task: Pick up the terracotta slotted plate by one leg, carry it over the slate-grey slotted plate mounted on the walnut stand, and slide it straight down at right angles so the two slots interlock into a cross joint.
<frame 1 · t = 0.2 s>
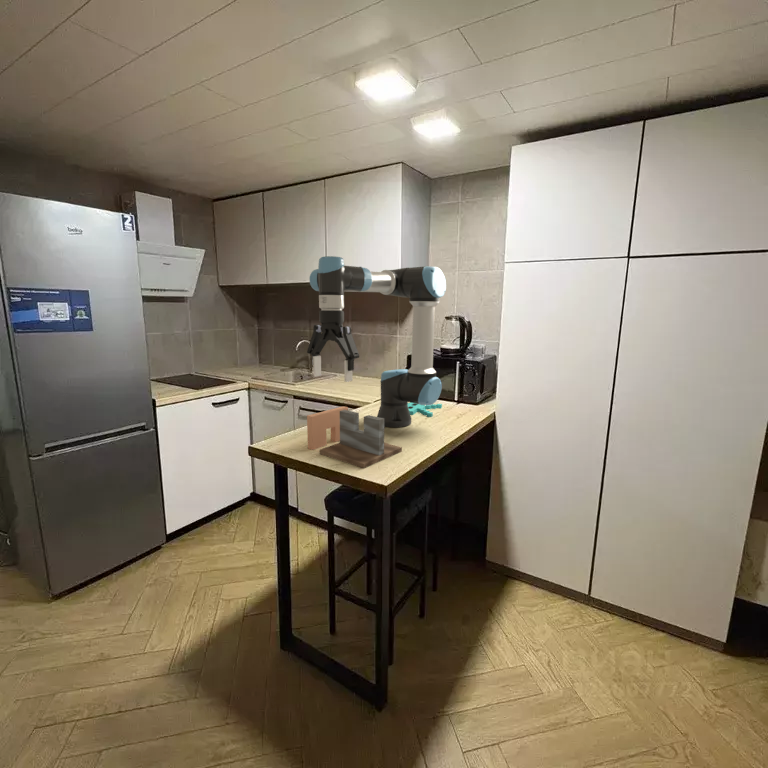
hand: (332, 378, 131), 27 cm above the countertop, fingers open, 13 cm apart
terracotta plate: (328, 442, 154), on the countertop
alien figure: (416, 411, 204), on the countertop
slotted stand: (361, 452, 144), on the countertop
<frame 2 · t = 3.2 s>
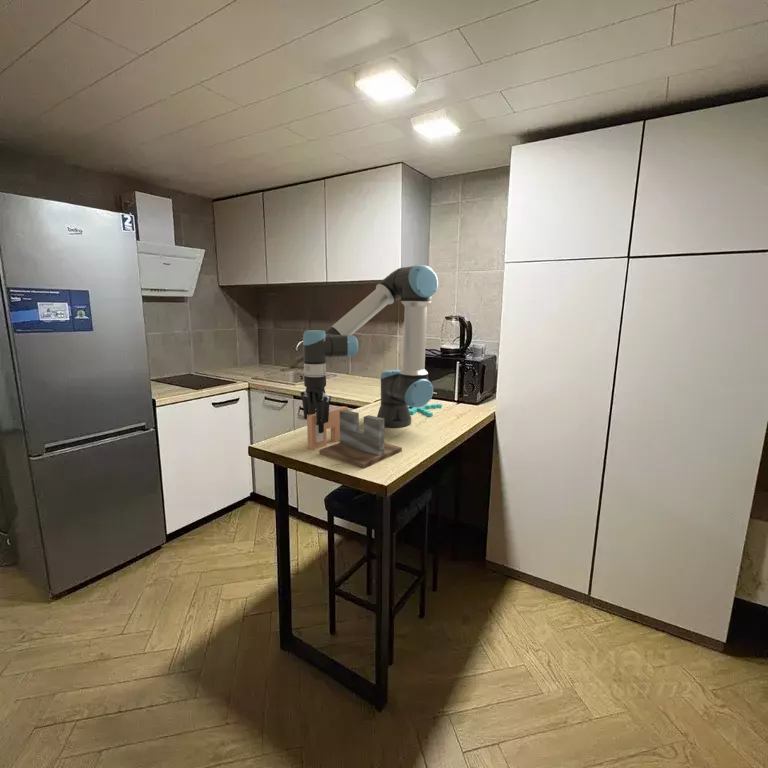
hand: (316, 440, 149), 3 cm above the countertop, fingers closed on terracotta plate, 2 cm apart
terracotta plate: (328, 442, 154), on the countertop, touching gripper
everything else where it was.
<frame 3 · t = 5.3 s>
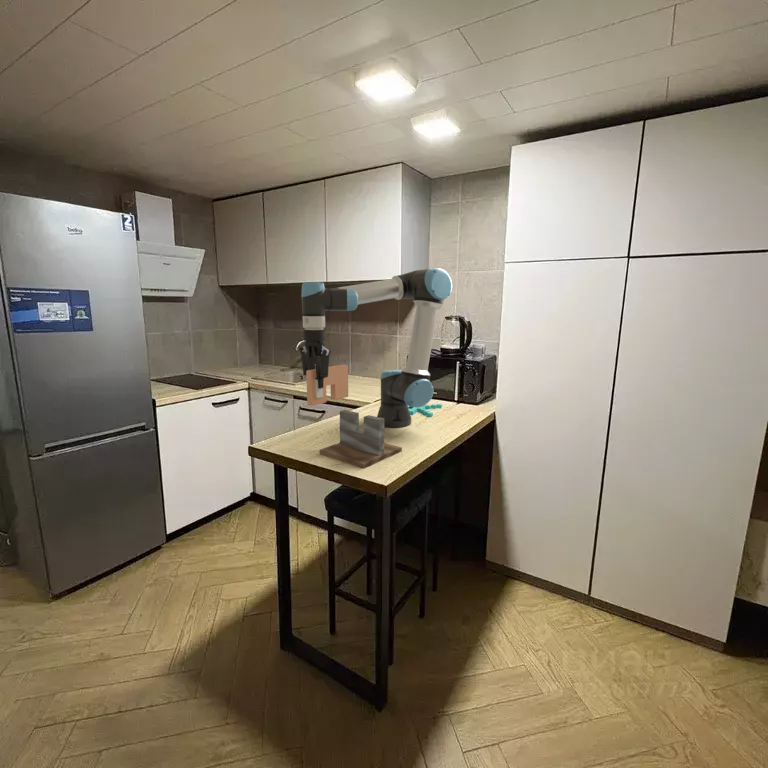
hand: (316, 396, 146), 18 cm above the countertop, fingers closed on terracotta plate, 2 cm apart
terracotta plate: (328, 400, 151), point 16 cm above the countertop, touching gripper
everything else where it was.
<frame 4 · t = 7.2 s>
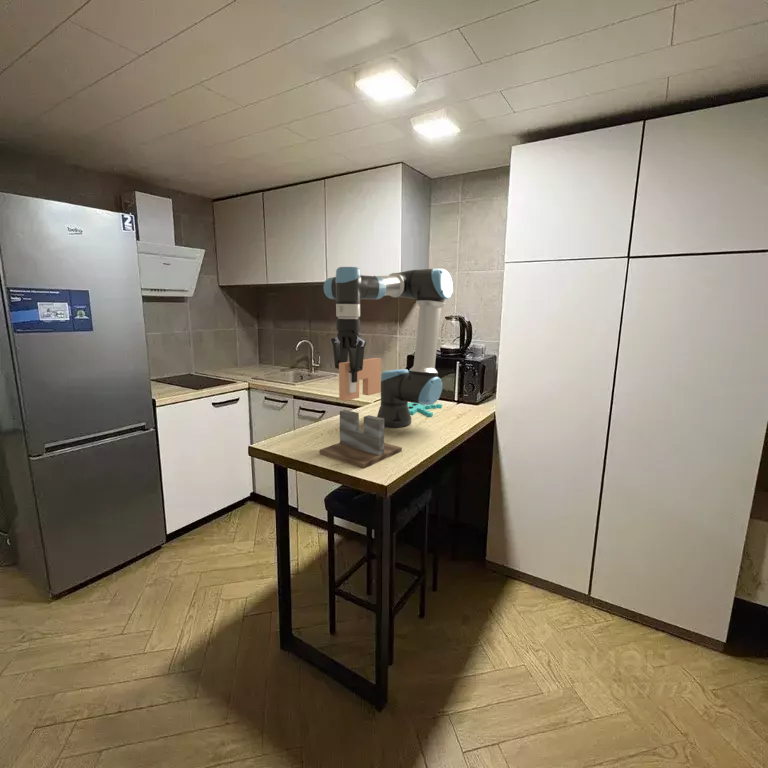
hand: (348, 391, 135), 23 cm above the countertop, fingers closed on terracotta plate, 2 cm apart
terracotta plate: (360, 396, 141), point 20 cm above the countertop, touching gripper
everything else where it was.
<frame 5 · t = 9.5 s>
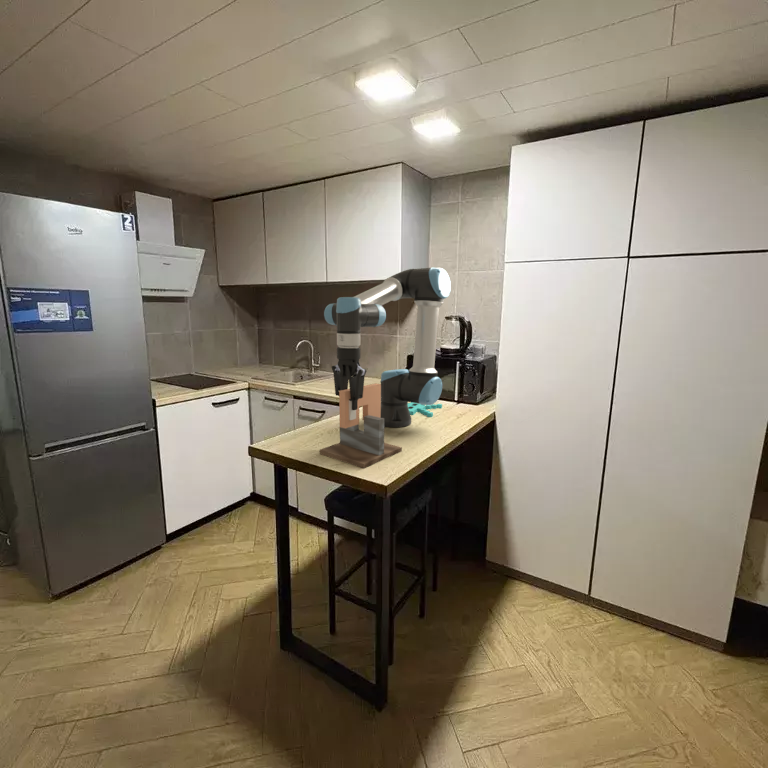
hand: (348, 418, 137), 14 cm above the countertop, fingers closed on terracotta plate, 2 cm apart
terracotta plate: (360, 422, 142), point 11 cm above the countertop, touching gripper
everything else where it was.
when the fingers open (5 cm above the countertop, at t = 11.4 s): terracotta plate stays where it is, resting on slotted stand.
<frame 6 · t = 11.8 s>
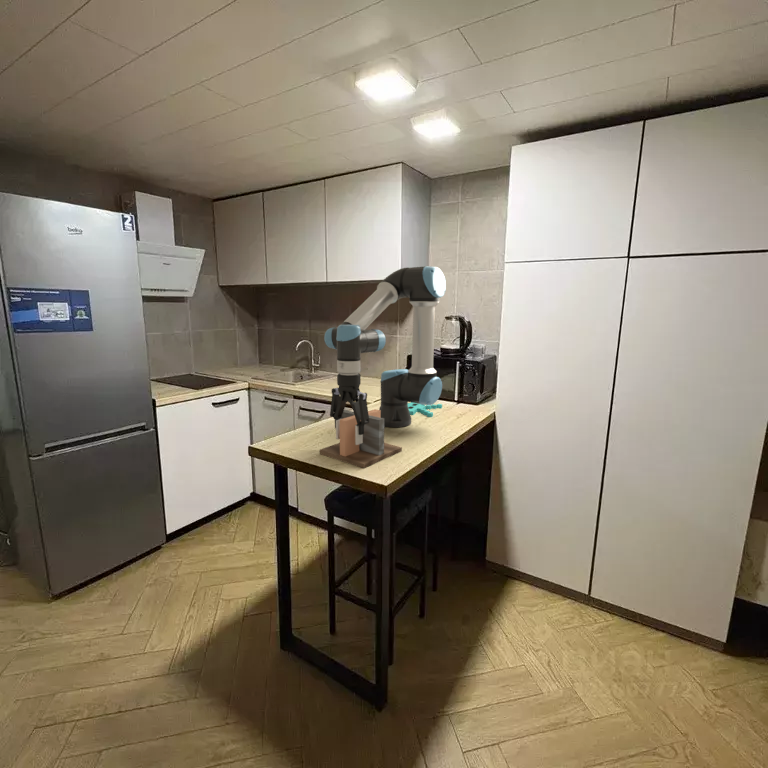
hand: (349, 440, 139), 6 cm above the countertop, fingers open, 8 cm apart
terracotta plate: (360, 448, 144), point 2 cm above the countertop, touching slotted stand
everything else where it was.
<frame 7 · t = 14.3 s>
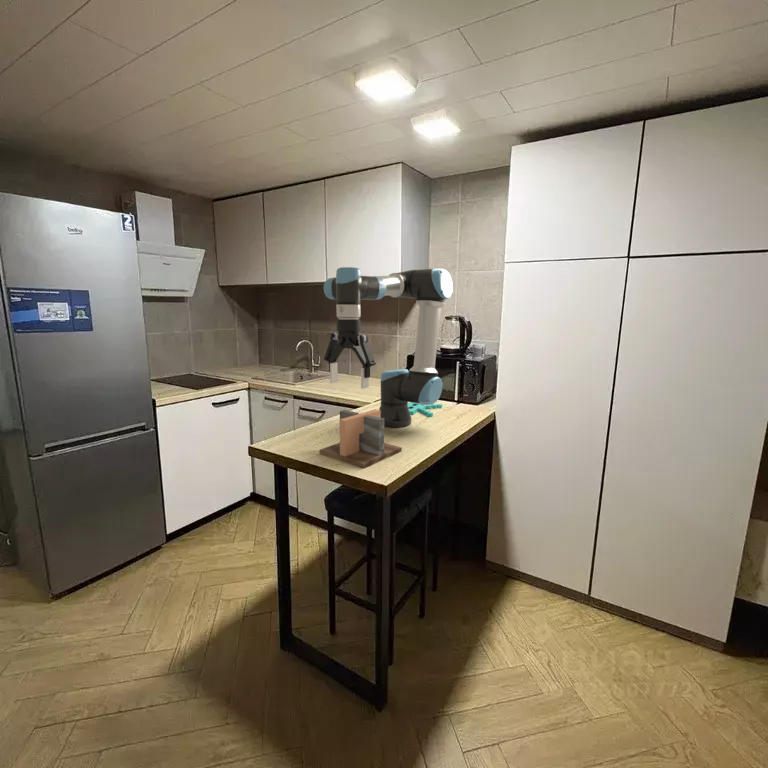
hand: (349, 385, 135), 25 cm above the countertop, fingers open, 13 cm apart
nothing on the countertop moved.
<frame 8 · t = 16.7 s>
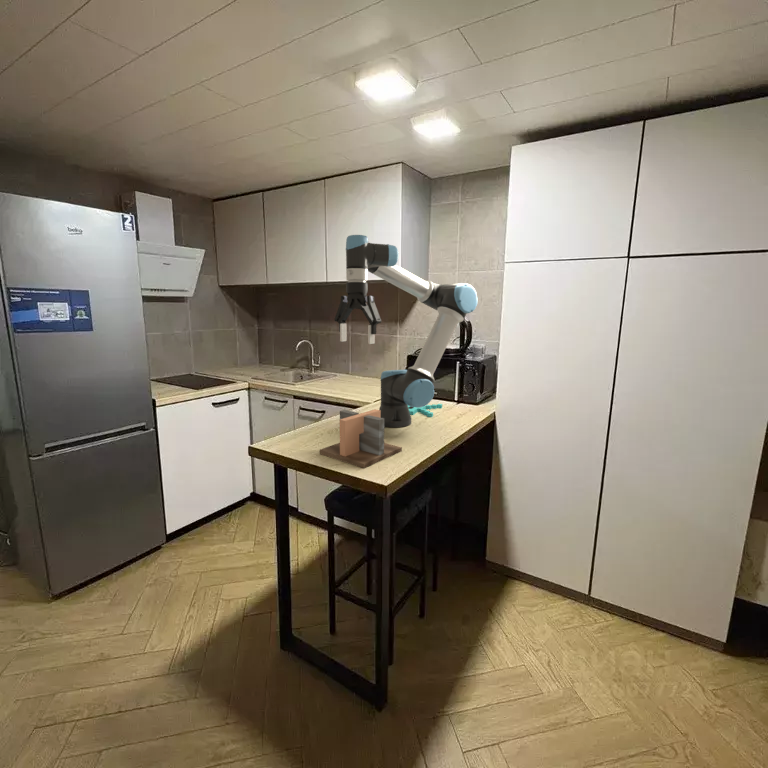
hand: (357, 342, 150), 37 cm above the countertop, fingers open, 13 cm apart
nothing on the countertop moved.
at the end: terracotta plate 0.1 cm off-centre on the slotted stand, point 1.5 cm above the slotted stand's base; terracotta plate tilted 0°; the gripper is holding nothing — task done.
